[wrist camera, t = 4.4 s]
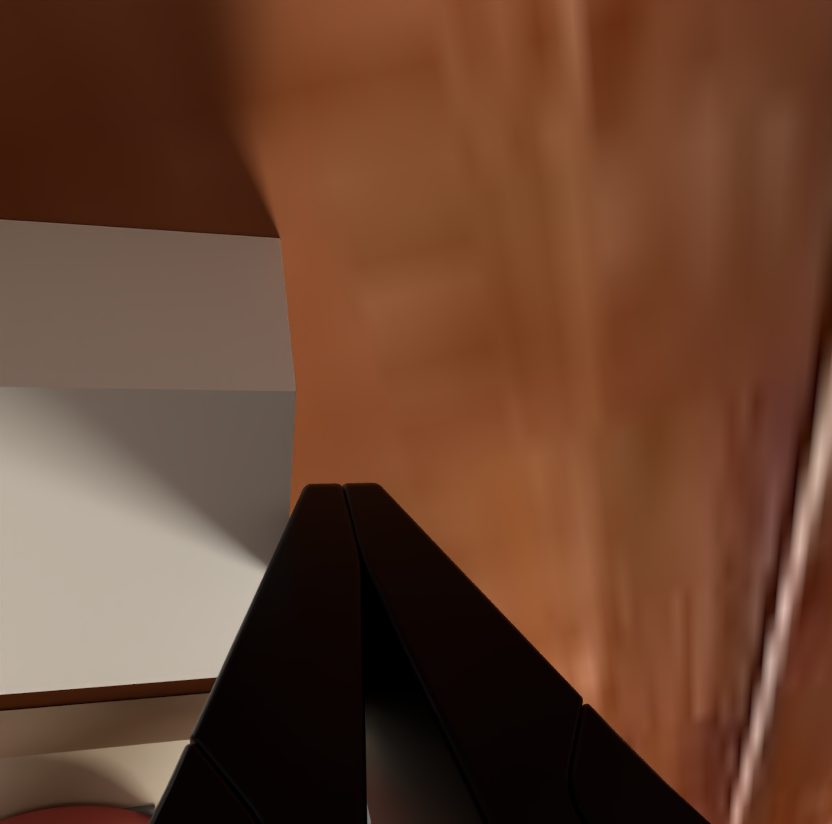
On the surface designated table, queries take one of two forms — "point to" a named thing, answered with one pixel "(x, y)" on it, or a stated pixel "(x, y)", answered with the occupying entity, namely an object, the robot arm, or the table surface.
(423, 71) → the table surface
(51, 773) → the track board
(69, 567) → the white cube
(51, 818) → the pawn
